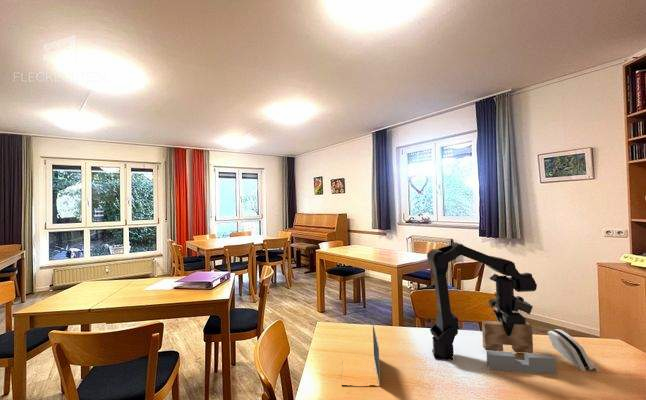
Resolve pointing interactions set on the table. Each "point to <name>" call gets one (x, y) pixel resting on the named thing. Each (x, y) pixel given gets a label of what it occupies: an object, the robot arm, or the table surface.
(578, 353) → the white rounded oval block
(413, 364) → the table surface
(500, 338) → the walnut slat
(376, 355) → the laptop
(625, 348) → the table surface
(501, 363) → the notched gray bar
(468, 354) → the table surface
